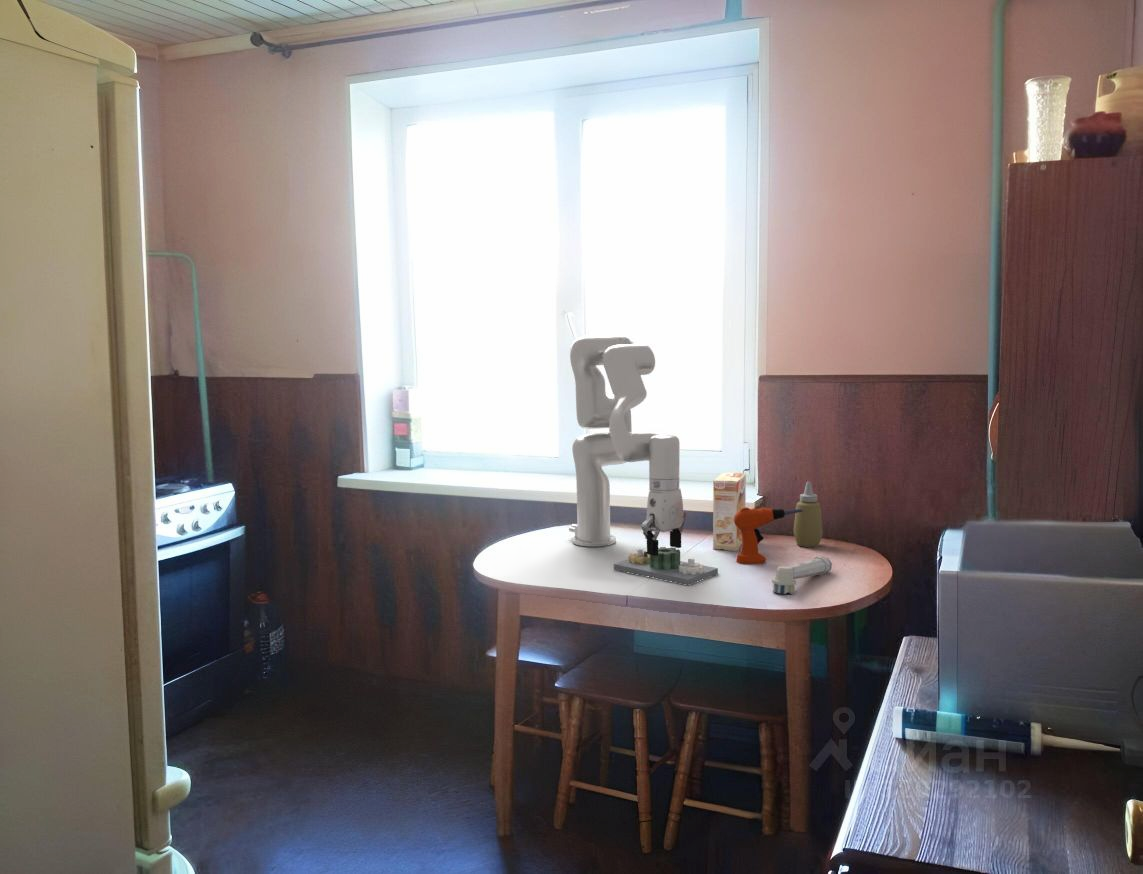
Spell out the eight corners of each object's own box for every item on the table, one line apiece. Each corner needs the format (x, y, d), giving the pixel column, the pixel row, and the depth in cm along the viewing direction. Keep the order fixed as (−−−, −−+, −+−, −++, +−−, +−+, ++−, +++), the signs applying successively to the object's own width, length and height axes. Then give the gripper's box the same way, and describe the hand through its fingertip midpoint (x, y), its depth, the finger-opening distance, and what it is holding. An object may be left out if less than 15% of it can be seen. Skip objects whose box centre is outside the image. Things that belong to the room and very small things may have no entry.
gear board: (613, 569, 227) (613, 552, 227) (644, 559, 237) (644, 543, 236) (688, 585, 212) (687, 567, 211) (717, 574, 221) (717, 556, 221)
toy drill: (810, 557, 230) (804, 501, 228) (739, 567, 230) (731, 511, 228) (805, 552, 235) (798, 497, 233) (735, 562, 235) (728, 507, 233)
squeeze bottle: (791, 547, 247) (791, 483, 244) (795, 541, 254) (795, 479, 252) (821, 549, 243) (821, 485, 241) (824, 543, 251) (825, 480, 249)
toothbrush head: (835, 558, 220) (789, 565, 201) (833, 584, 220) (787, 595, 201) (815, 555, 224) (769, 562, 204) (813, 581, 224) (766, 591, 204)
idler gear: (668, 571, 219) (668, 555, 218) (644, 566, 224) (644, 551, 223) (685, 565, 224) (685, 549, 224) (661, 560, 229) (661, 545, 229)
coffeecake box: (737, 551, 244) (737, 481, 241) (712, 549, 246) (711, 480, 244) (746, 539, 258) (746, 472, 255) (722, 537, 260) (722, 471, 258)
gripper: (655, 491, 213) (655, 560, 215) (696, 481, 226) (696, 546, 228) (631, 487, 218) (631, 555, 220) (672, 477, 231) (672, 542, 233)
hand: (664, 550), depth 224 cm, fingers open, 9 cm apart
